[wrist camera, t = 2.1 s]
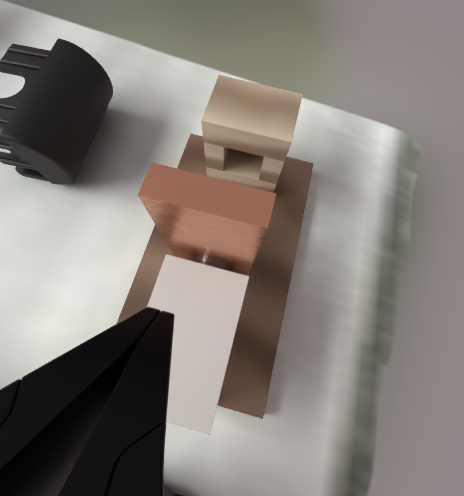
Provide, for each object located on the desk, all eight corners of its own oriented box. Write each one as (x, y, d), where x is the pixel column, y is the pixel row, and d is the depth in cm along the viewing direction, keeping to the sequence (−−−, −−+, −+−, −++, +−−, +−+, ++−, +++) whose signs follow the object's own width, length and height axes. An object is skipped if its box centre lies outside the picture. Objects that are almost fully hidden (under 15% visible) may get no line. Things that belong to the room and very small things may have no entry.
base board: (260, 414, 19) (262, 418, 18) (104, 368, 20) (98, 370, 19) (309, 169, 26) (313, 163, 25) (191, 140, 27) (190, 133, 26)
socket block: (272, 196, 24) (291, 142, 17) (207, 180, 24) (201, 120, 17) (281, 158, 25) (302, 94, 18) (219, 143, 25) (219, 75, 19)
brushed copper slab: (217, 394, 17) (209, 470, 7) (142, 372, 17) (41, 418, 8) (263, 210, 21) (296, 107, 12) (202, 195, 21) (186, 81, 12)
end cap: (89, 195, 24) (41, 144, 18) (15, 179, 25) (-58, 124, 18) (125, 111, 28) (96, 43, 21) (60, 98, 28) (11, 27, 21)
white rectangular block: (213, 404, 18) (209, 434, 13) (145, 384, 19) (111, 405, 13) (241, 292, 21) (249, 276, 15) (181, 276, 21) (166, 254, 15)
